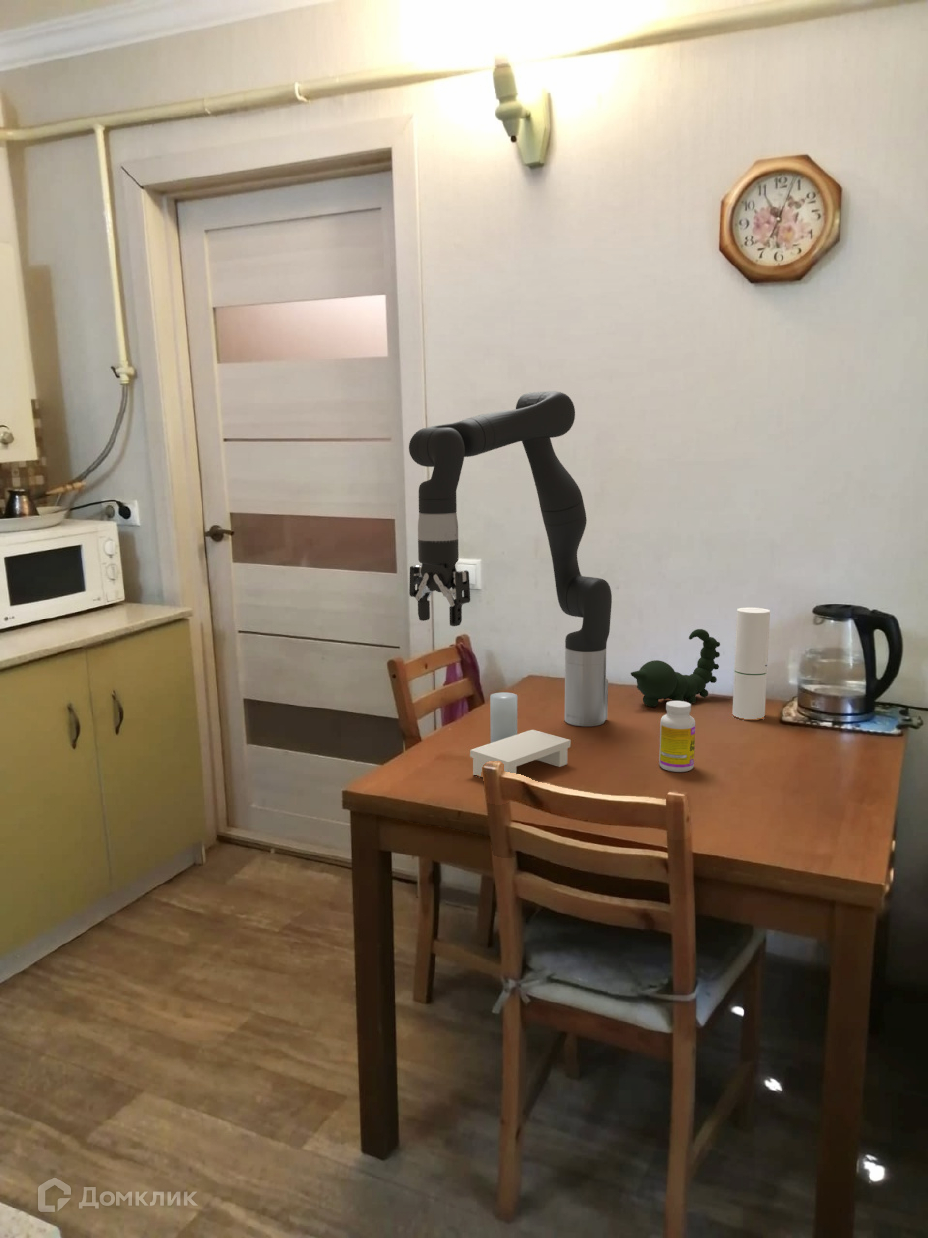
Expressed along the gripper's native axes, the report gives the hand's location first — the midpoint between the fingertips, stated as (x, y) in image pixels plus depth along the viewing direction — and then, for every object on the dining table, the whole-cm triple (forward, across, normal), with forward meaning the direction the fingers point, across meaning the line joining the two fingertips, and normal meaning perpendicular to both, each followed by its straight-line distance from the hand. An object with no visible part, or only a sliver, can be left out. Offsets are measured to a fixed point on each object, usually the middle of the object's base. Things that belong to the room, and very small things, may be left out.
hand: (439, 622), depth 175 cm
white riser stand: (+29, -11, -11) cm, 33 cm away
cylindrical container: (+30, -25, -74) cm, 83 cm away
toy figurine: (+30, -6, -72) cm, 78 cm away
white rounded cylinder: (+29, +1, -19) cm, 35 cm away
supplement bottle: (+30, -32, -33) cm, 55 cm away
